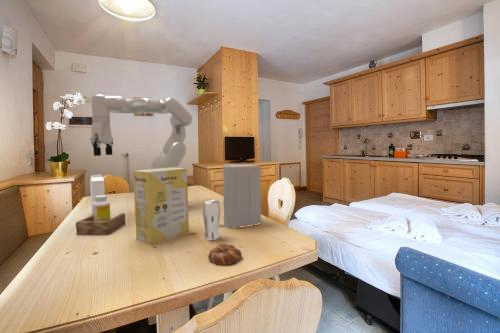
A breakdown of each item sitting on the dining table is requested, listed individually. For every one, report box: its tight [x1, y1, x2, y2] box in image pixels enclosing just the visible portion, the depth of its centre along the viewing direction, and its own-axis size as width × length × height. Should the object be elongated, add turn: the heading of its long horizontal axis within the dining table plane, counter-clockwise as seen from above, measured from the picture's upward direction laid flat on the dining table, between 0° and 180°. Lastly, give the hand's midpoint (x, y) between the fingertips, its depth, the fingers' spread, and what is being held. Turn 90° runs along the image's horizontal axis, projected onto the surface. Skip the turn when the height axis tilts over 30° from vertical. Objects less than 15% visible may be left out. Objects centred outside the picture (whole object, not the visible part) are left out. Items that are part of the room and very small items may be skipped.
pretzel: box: [208, 243, 242, 266], centre depth 86 cm, size 12×11×4 cm
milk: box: [89, 173, 106, 215], centre depth 144 cm, size 6×6×22 cm
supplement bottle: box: [92, 194, 112, 221], centre depth 116 cm, size 7×7×13 cm
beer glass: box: [202, 199, 221, 241], centre depth 103 cm, size 7×7×15 cm
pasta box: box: [132, 167, 190, 246], centre depth 106 cm, size 18×10×28 cm, turn 143°
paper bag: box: [222, 163, 262, 229], centre depth 121 cm, size 19×15×28 cm
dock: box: [75, 213, 126, 236], centre depth 116 cm, size 14×14×6 cm
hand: (103, 155), depth 127 cm, fingers open, 9 cm apart
